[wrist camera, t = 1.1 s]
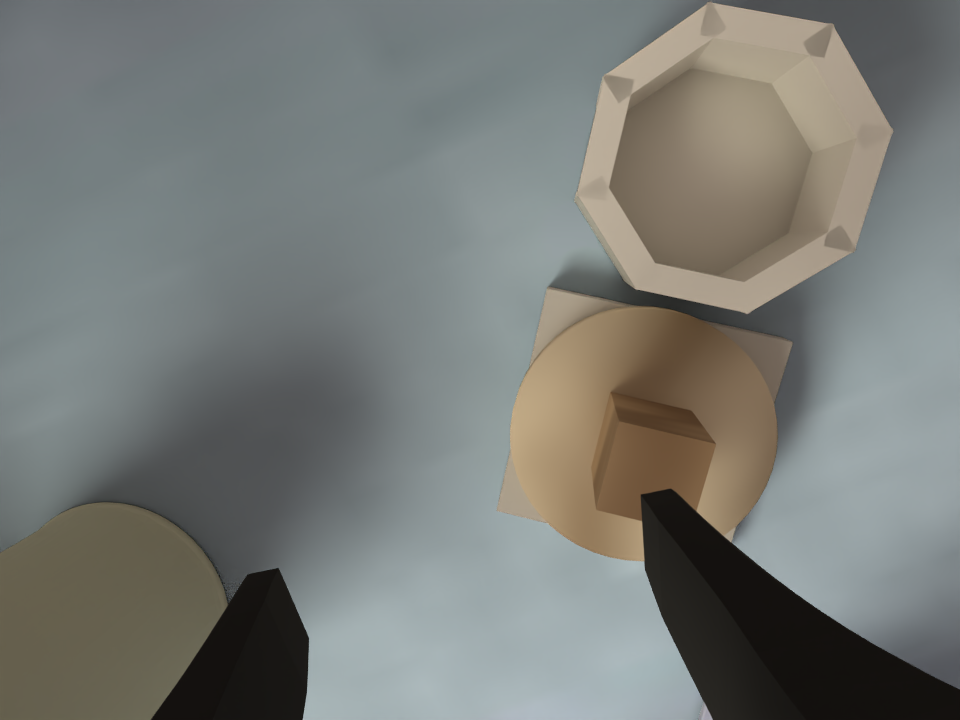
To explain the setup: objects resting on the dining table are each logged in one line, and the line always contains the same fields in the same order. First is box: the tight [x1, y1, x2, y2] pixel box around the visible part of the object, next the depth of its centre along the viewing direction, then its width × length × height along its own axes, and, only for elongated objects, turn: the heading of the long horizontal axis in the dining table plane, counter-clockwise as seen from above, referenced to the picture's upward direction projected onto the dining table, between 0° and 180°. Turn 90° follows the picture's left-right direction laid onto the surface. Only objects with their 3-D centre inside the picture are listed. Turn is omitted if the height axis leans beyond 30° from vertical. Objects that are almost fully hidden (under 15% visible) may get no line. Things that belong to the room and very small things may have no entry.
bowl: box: [574, 2, 893, 314], centre depth 20 cm, size 8×8×4 cm
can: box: [0, 502, 228, 720], centre depth 22 cm, size 9×9×12 cm
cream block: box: [497, 286, 793, 542], centre depth 23 cm, size 8×8×1 cm
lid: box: [510, 306, 778, 561], centre depth 20 cm, size 8×8×4 cm
